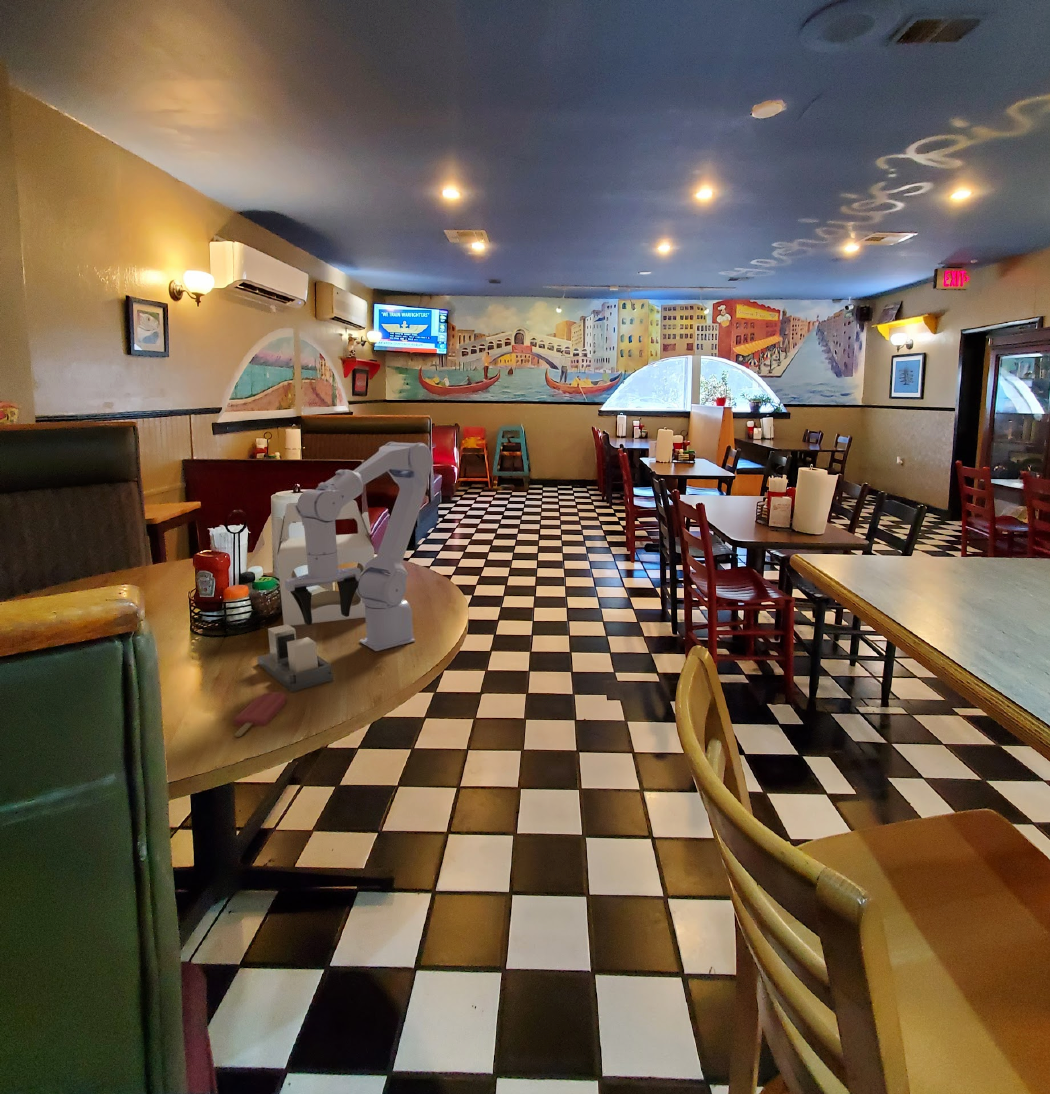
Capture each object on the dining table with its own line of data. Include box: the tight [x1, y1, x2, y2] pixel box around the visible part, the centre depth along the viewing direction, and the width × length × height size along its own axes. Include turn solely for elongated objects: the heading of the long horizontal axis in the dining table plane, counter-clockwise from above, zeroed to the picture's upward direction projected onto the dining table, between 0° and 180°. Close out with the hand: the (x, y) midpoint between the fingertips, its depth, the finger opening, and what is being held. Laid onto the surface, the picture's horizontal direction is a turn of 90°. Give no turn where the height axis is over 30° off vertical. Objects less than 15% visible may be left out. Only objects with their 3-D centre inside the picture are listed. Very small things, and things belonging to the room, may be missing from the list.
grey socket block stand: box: [256, 624, 334, 693], centre depth 132 cm, size 8×18×8 cm, turn 39°
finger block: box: [287, 636, 318, 674], centre depth 128 cm, size 4×4×6 cm
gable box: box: [274, 499, 375, 627], centre depth 167 cm, size 22×13×28 cm, turn 109°
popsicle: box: [233, 691, 287, 738], centre depth 115 cm, size 5×2×15 cm
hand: (327, 619), depth 135 cm, fingers open, 7 cm apart
